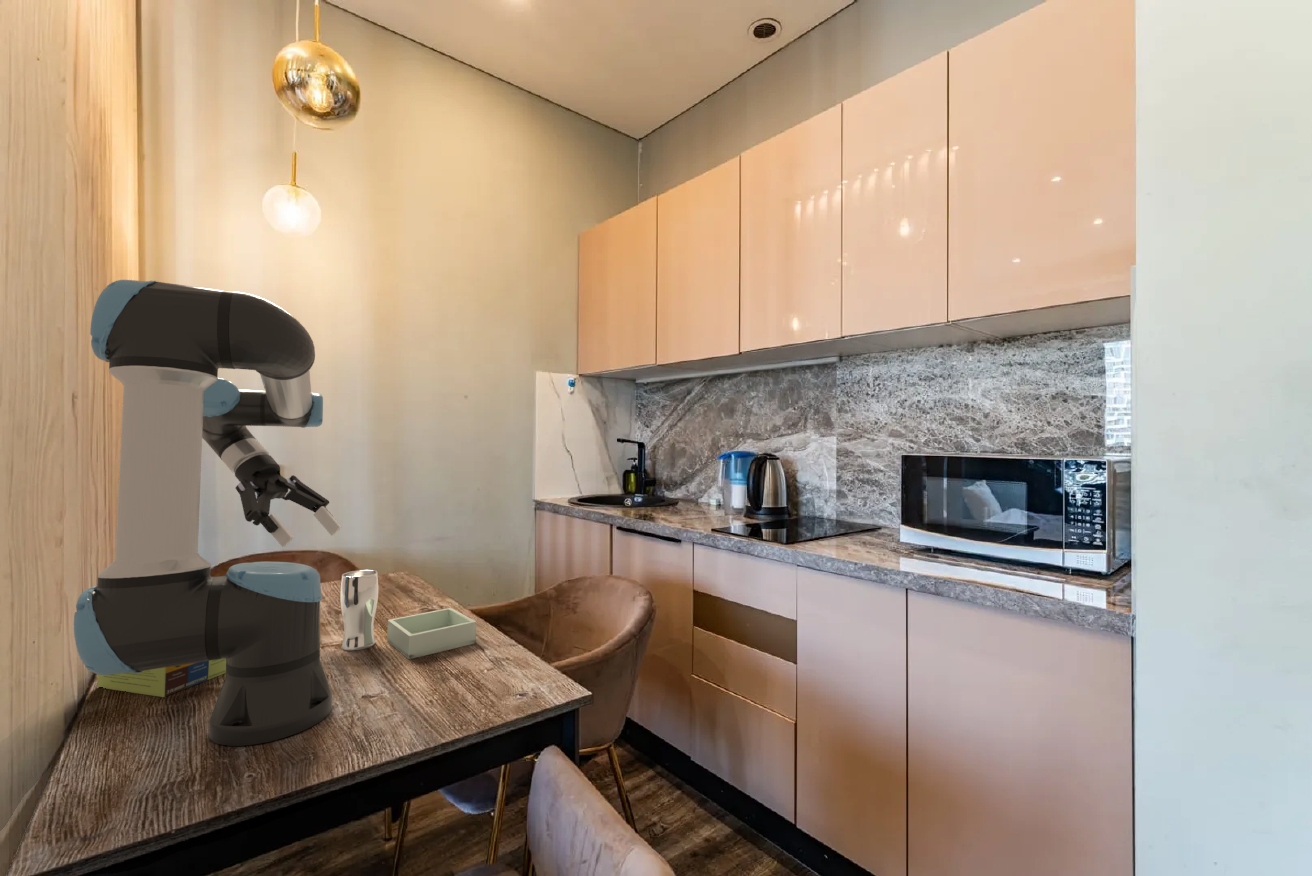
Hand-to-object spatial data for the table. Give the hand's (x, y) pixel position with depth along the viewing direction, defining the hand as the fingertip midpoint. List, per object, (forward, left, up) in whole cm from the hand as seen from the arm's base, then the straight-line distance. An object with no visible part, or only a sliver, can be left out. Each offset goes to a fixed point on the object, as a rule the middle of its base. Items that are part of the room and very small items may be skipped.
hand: (314, 536), depth 116 cm
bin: (-17, -19, -22) cm, 34 cm away
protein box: (-5, +23, -23) cm, 33 cm away
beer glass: (-9, -7, -22) cm, 25 cm away
